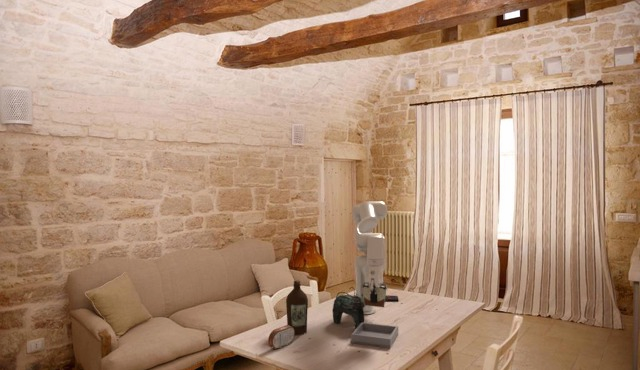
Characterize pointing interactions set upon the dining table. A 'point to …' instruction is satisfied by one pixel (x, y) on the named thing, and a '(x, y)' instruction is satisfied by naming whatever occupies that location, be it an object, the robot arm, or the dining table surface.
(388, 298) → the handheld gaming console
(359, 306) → the teal animal figurine
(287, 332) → the tin
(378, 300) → the food container
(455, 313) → the dining table surface
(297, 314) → the olive oil
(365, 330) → the tray
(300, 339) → the dining table surface
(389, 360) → the dining table surface
